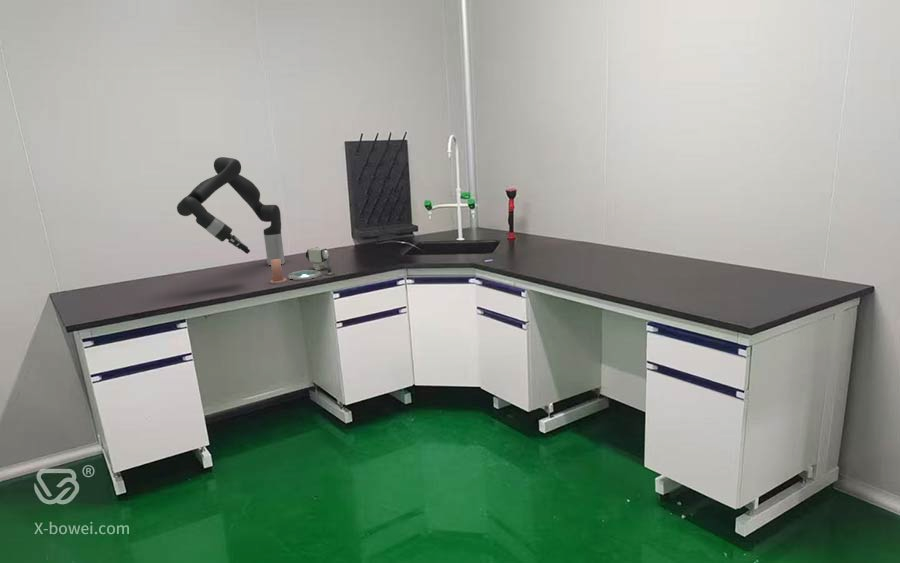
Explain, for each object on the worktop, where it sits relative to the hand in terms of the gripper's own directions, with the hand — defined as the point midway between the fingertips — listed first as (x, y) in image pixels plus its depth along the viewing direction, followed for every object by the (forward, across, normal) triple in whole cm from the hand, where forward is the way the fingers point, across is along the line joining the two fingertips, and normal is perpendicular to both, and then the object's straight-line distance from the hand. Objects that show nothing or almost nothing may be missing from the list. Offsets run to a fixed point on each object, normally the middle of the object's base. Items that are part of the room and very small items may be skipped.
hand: (247, 250), depth 272 cm
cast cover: (+20, 0, +3) cm, 21 cm away
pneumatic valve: (+37, +16, -14) cm, 43 cm away
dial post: (+38, +1, -15) cm, 41 cm away
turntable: (+30, +4, -6) cm, 31 cm away
